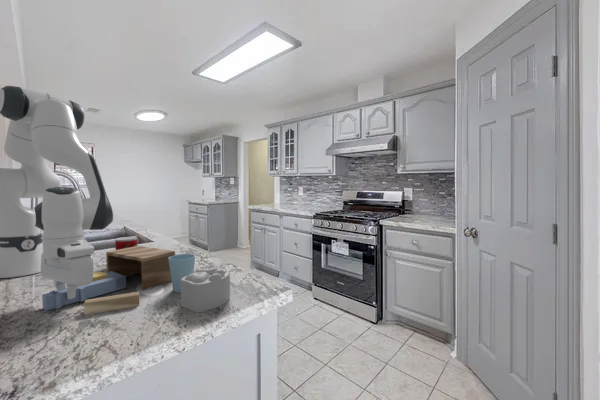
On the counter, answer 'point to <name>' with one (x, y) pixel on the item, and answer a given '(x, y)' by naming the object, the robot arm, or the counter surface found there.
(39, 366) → the counter surface
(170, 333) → the counter surface
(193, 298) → the lumpy-topped squat cylinder
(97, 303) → the beech stick
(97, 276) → the ochre block
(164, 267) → the box
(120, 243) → the canned food
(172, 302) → the counter surface
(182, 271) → the cup
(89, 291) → the crook
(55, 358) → the counter surface
